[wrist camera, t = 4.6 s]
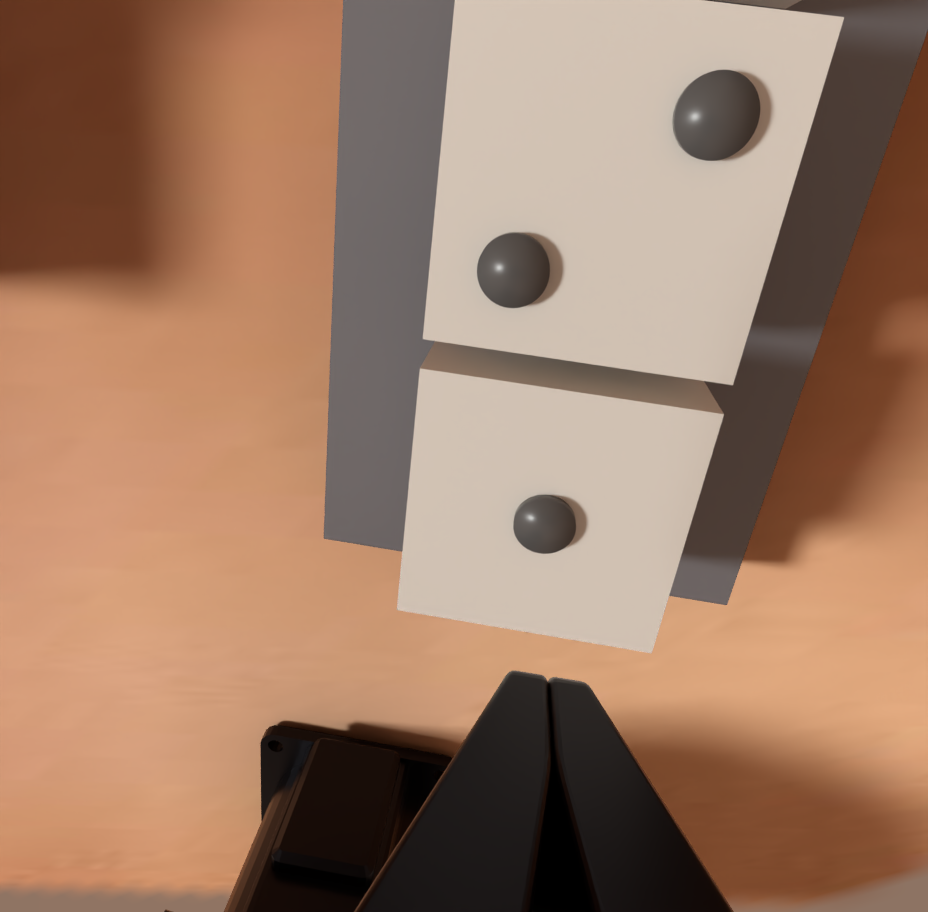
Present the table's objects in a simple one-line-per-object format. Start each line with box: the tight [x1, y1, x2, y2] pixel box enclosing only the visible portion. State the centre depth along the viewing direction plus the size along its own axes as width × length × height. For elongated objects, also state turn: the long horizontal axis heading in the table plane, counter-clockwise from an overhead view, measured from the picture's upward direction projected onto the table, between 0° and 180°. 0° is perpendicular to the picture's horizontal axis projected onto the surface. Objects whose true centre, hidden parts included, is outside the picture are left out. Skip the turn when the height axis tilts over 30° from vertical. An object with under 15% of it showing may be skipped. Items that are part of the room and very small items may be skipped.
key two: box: [423, 0, 844, 385], centre depth 11 cm, size 5×5×2 cm
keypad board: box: [324, 0, 928, 605], centre depth 14 cm, size 18×10×2 cm, turn 173°
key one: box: [397, 341, 724, 653], centre depth 13 cm, size 5×5×2 cm
